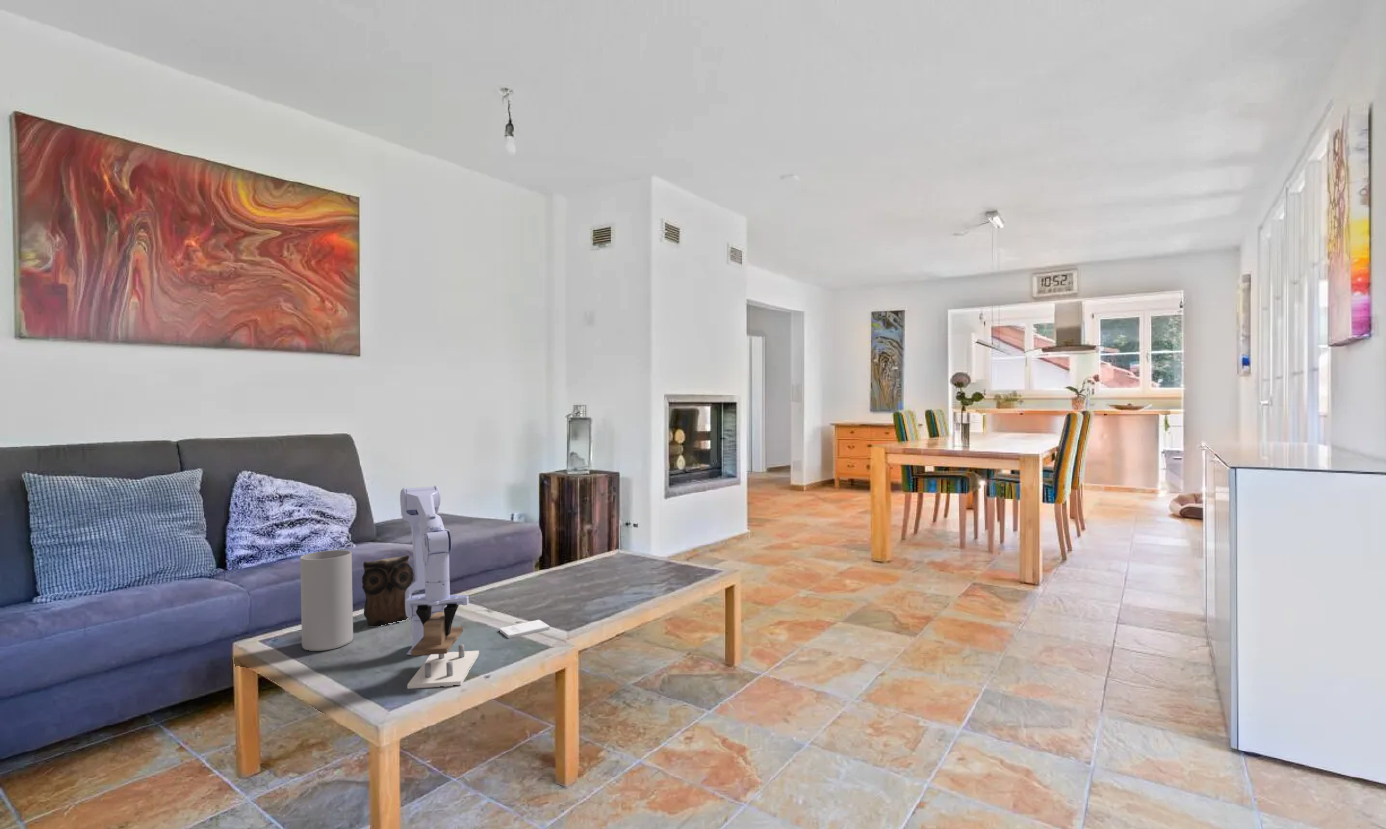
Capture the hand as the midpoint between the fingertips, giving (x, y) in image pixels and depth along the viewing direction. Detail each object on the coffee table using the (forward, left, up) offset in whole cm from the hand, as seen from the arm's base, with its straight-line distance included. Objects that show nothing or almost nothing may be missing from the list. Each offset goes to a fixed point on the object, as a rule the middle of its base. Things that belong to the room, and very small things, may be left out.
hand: (438, 635), depth 162 cm
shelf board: (0, 0, -2) cm, 2 cm away
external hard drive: (-28, +17, -10) cm, 34 cm away
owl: (-45, -26, -9) cm, 53 cm away
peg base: (0, +2, -9) cm, 9 cm away
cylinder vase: (-25, -36, -9) cm, 45 cm away
